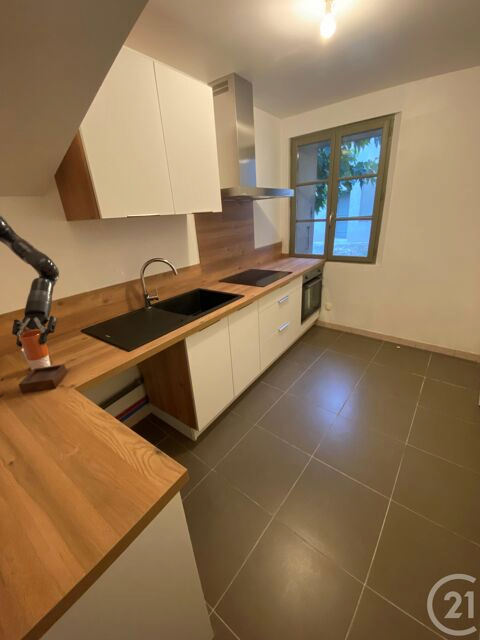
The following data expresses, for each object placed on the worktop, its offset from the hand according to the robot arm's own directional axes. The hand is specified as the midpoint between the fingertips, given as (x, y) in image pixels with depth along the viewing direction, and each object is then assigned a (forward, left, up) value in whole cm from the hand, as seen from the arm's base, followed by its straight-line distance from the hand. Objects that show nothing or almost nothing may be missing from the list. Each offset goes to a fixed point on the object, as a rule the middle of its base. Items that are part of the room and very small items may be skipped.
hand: (30, 345), depth 93 cm
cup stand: (0, +1, -17) cm, 16 cm away
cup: (0, +2, -5) cm, 6 cm away
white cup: (-8, +14, -17) cm, 23 cm away
